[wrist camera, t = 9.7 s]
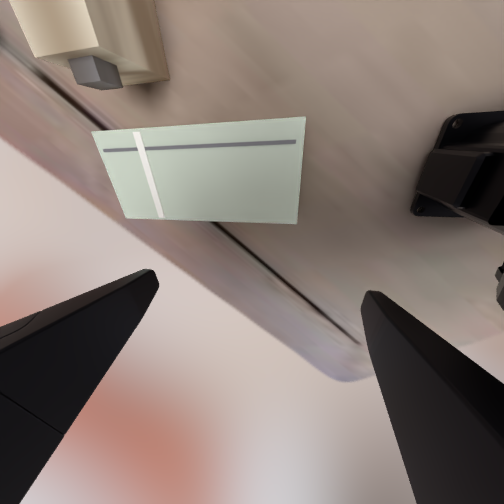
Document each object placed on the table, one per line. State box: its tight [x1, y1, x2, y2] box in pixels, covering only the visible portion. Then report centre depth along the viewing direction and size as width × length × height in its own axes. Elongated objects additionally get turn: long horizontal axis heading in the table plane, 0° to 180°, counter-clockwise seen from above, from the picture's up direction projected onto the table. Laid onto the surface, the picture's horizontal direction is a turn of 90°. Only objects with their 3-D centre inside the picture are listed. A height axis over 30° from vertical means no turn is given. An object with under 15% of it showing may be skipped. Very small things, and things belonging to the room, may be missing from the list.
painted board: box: [92, 117, 306, 224], centre depth 16 cm, size 16×7×3 cm, turn 92°
